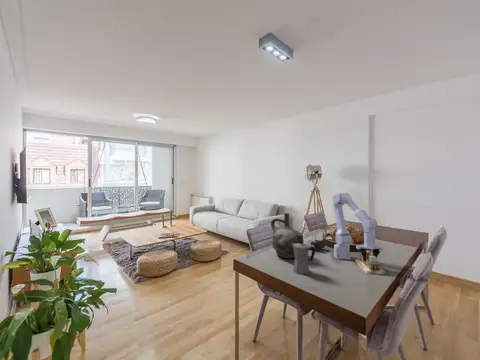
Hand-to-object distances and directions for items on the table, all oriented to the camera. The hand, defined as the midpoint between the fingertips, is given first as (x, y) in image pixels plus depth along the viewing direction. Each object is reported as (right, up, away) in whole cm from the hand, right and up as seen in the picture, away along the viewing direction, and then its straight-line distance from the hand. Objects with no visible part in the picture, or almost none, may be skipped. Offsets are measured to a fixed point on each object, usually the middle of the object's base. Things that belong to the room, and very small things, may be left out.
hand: (369, 261), depth 139 cm
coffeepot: (-42, -4, -6) cm, 43 cm away
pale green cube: (-1, +1, -4) cm, 4 cm away
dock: (0, -4, 0) cm, 4 cm away
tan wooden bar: (0, -2, 0) cm, 2 cm away
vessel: (-46, -4, +21) cm, 50 cm away
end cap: (-20, -4, +33) cm, 39 cm away
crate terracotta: (0, +2, +4) cm, 4 cm away
